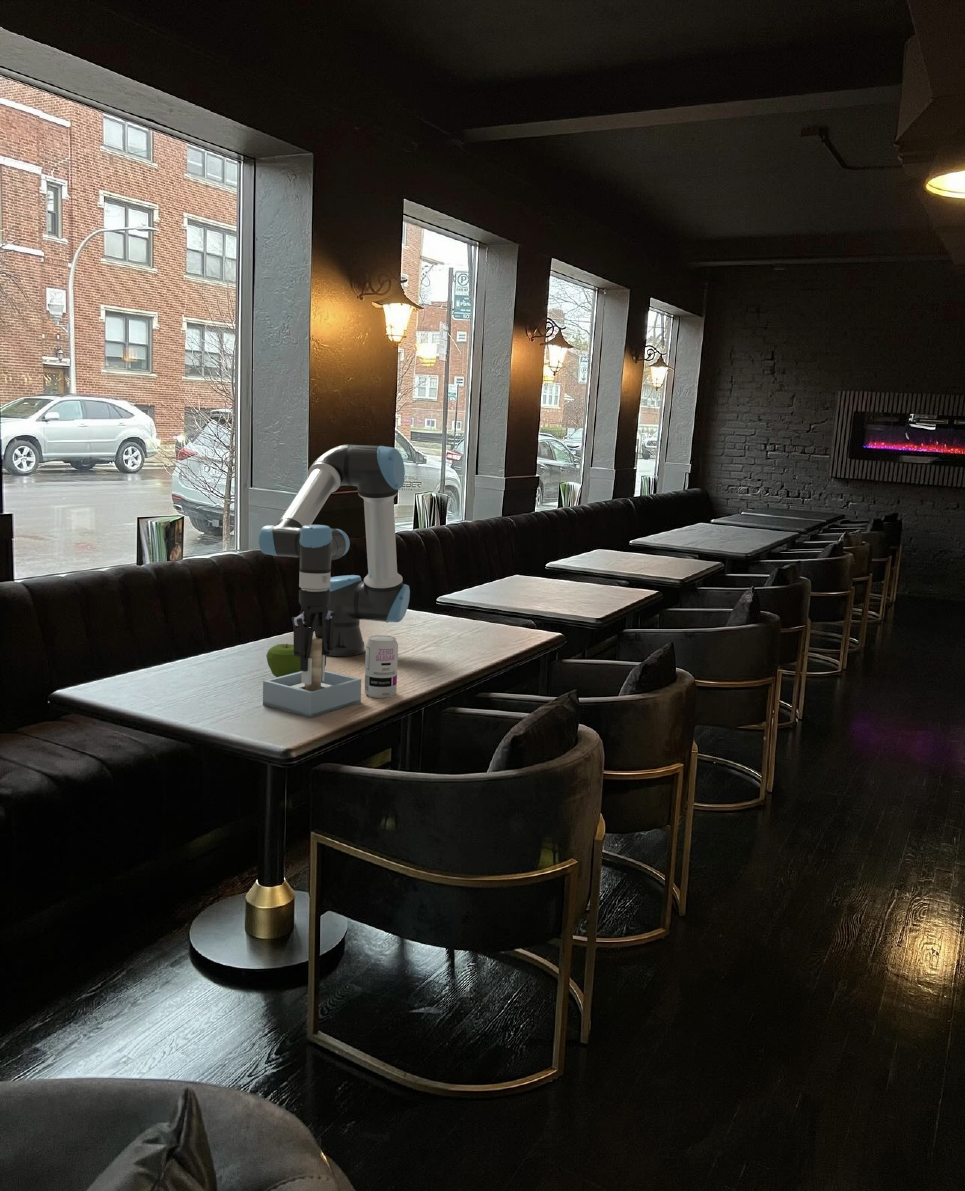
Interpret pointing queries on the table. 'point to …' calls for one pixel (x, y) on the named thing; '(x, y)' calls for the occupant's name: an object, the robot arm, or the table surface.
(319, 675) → the peg
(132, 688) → the table surface
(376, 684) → the supplement can
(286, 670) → the apple
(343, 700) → the crate
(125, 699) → the table surface
